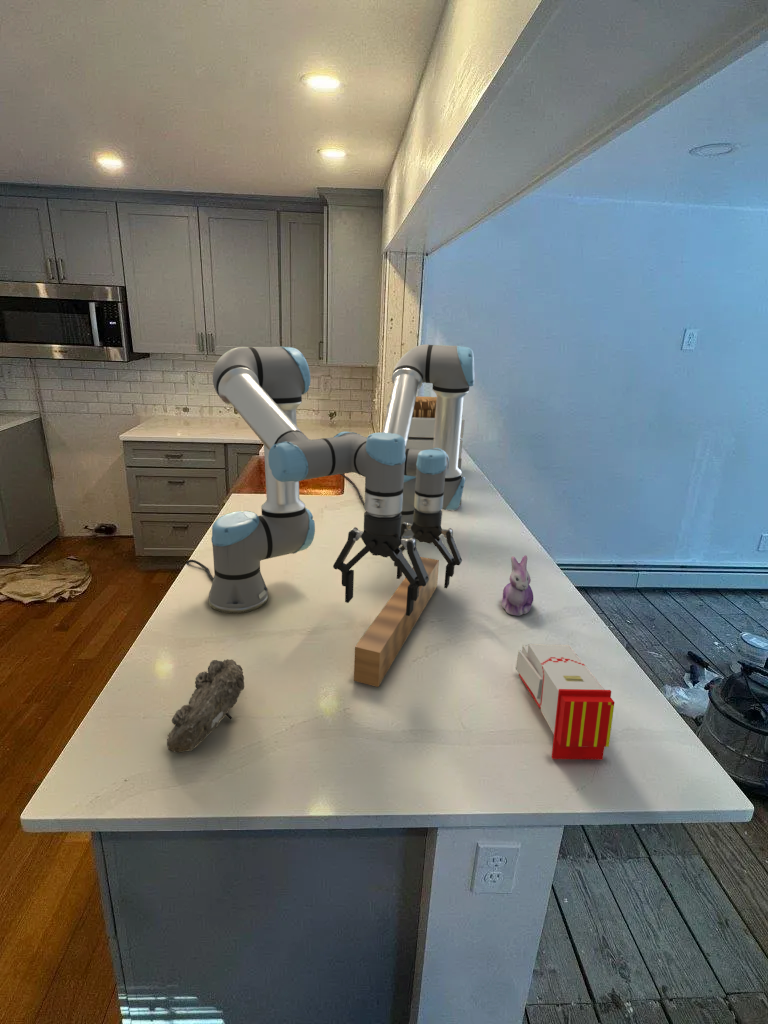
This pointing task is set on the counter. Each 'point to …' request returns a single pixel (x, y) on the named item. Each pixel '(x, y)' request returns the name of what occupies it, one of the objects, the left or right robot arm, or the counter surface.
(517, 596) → the figurine
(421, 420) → the firewood crate
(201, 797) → the counter surface
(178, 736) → the fossil
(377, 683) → the beam
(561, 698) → the toy
